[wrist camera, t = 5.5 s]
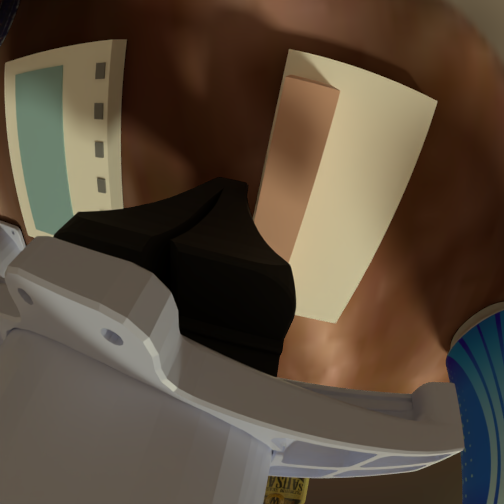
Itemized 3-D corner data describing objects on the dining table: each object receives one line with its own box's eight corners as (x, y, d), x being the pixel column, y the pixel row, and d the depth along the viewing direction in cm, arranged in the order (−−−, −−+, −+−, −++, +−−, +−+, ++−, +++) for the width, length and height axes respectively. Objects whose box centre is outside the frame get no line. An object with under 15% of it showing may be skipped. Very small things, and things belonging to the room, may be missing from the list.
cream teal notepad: (37, 226, 18) (27, 236, 17) (18, 59, 10) (3, 63, 9) (128, 254, 18) (118, 267, 17) (127, 39, 10) (111, 39, 8)
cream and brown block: (239, 286, 17) (223, 342, 14) (290, 50, 9) (283, 41, 6) (334, 308, 17) (336, 366, 14) (426, 97, 9) (475, 117, 6)
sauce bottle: (316, 420, 29) (295, 571, 13) (315, 435, 33) (296, 563, 17) (262, 418, 31) (231, 564, 15) (268, 433, 34) (242, 557, 18)
